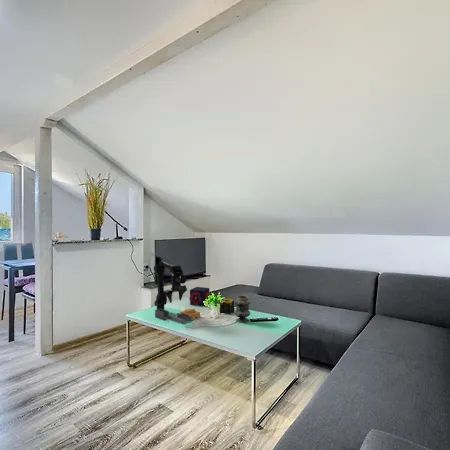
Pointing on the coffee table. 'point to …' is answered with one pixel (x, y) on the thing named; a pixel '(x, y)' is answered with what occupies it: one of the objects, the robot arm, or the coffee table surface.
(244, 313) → the stone urn vase
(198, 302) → the decorative cube
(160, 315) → the chute
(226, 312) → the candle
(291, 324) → the coffee table surface
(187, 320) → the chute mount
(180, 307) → the coffee table surface
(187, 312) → the brown low lump
